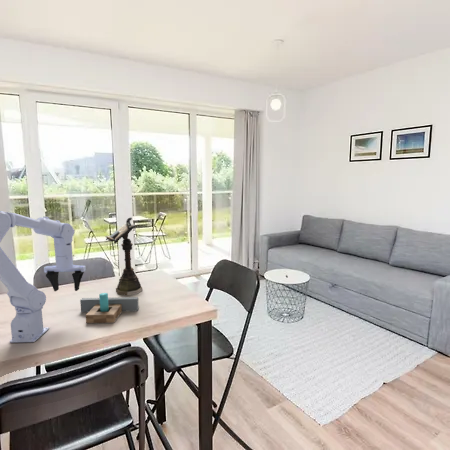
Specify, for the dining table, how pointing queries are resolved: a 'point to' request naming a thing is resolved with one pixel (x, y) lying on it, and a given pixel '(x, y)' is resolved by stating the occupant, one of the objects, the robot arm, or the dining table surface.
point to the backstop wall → (126, 302)
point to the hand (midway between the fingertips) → (66, 290)
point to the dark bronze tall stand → (126, 262)
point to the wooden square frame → (104, 314)
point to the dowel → (104, 302)
